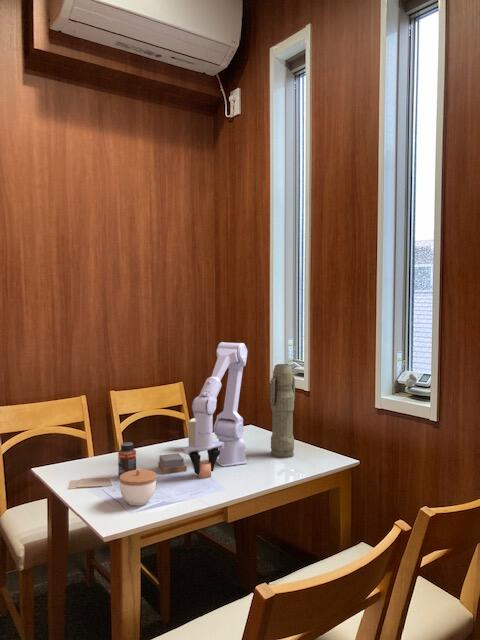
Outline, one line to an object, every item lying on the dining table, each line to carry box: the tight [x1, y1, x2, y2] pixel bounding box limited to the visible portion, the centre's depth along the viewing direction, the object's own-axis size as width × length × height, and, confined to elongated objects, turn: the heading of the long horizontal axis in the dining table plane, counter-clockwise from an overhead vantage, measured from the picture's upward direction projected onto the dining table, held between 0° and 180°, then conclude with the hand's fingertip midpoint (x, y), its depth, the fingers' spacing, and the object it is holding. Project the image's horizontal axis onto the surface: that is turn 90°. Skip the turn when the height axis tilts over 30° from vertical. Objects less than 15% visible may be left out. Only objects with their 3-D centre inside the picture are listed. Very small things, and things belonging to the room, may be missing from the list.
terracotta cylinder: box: [196, 460, 212, 480], centre depth 168 cm, size 5×5×4 cm
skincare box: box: [187, 417, 196, 446], centre depth 198 cm, size 6×4×12 cm
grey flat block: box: [158, 452, 185, 468], centre depth 174 cm, size 7×7×2 cm
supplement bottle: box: [117, 442, 137, 478], centre depth 166 cm, size 6×6×11 cm
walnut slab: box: [157, 461, 188, 475], centre depth 175 cm, size 8×8×2 cm
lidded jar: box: [118, 468, 157, 506], centre depth 146 cm, size 11×11×9 cm
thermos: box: [269, 363, 296, 459], centre depth 192 cm, size 9×12×35 cm
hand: (204, 471), depth 168 cm, fingers closed on terracotta cylinder, 5 cm apart
